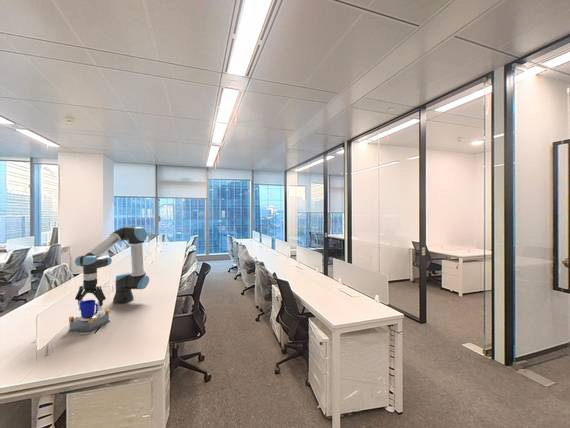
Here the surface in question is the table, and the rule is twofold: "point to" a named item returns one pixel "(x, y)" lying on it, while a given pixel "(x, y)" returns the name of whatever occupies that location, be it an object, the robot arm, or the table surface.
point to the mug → (88, 308)
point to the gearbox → (89, 322)
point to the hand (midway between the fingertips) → (90, 310)
